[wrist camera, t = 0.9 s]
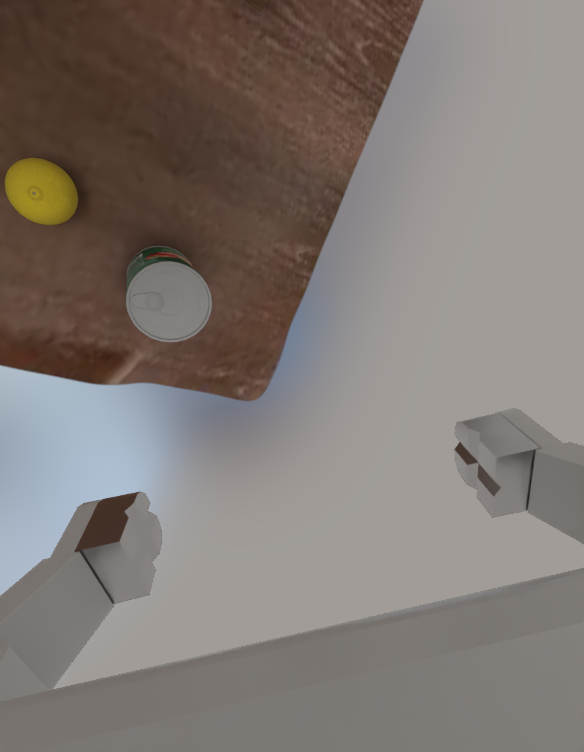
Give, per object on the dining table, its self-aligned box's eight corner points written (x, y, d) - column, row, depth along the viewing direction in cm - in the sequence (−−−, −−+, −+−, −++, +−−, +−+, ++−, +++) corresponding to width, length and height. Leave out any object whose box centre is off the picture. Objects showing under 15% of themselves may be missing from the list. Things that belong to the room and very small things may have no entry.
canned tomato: (197, 250, 45) (216, 266, 36) (193, 313, 48) (209, 343, 39) (125, 240, 42) (125, 256, 33) (126, 309, 45) (126, 341, 36)
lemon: (66, 155, 37) (53, 149, 31) (90, 215, 40) (83, 221, 33) (4, 165, 36) (-23, 161, 29) (34, 227, 39) (15, 235, 32)
